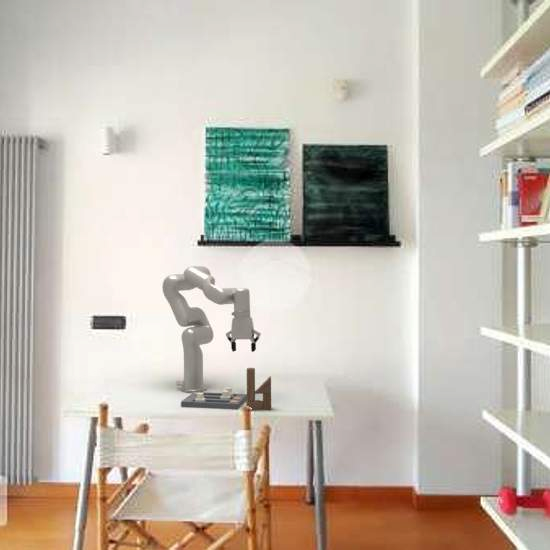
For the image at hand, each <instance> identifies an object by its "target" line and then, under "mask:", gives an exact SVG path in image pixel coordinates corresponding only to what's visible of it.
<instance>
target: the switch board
mask: <svg viewBox="0 0 550 550" xmlns="http://www.w3.org/2000/svg"><path fill="white" fill-rule="evenodd" d="M198 393H204V398H206V402H196V401H195V399H196V398H197V394H198ZM221 396H222V392H207V391H206V392H204V391H201V392H191V394H189V395H188V396H186V397H185V398H184V399H182V400H181V401H180V407H181V406H182V407H181V408H195V409H196V408H201V409H219V410H220V409H221V410H223V409H224V410H239V408H241V407H242V406H243V405H244V404H245V402H246V401H247V393H234V396H231V399H220V397H221Z"/></svg>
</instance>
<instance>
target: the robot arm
mask: <svg viewBox="0 0 550 550" xmlns="http://www.w3.org/2000/svg"><path fill="white" fill-rule="evenodd" d="M196 288H197V289H199V290H201V291H202V292H203V295H204V296H205V298H206V299H208V301H211V302H212V303H214V304H217V305H220V306H221V305H222V306H223V305H224V306H225V305H233V312H231V316H233V318H232V320H231V329H230V330H229V331H228V332H226V333H225V336H226V338H227V340H228V341H229V342H230V346H231V352H235V351H237V344H236V341H237V340H250V342H251V343H250V346H251V347H250V350H251V352H252V353H253V352H255V351H256V349H257V345H256V344H257V342H258V341H259V340H260V337H261V334H262V333H261V332H259V331H258V330H256V329H254V321H253V318H252V317H251V301H250V299H251V297H250V296H251V295H250V289H249V288H247V287H246V288H245V287H244V288H242V287H239V288H237V287H229V288H227V287H225V288H220V287H218V286H216V280H215V277H214V276H212V275H211V271H210V269H209V268H208V267H206V266H199V265H198V266H197V265H195V266H193V265H192V266H188V267H187V268H186V269H185V270H184V271H183V274H182V273H180V274H177V273H176V274H171V275H170V274H169V275H167V276H166V277H165V278H164V280H163V282H162V293H163V296H164V298H165V300H166V301H167V303H168V304H169V306H170V309H171V311H172V313H173V315H174V318H175V320H176V322H177V325H179V326H180V327H183V328H186V329H184V330H183V331H182V333H181V342H182V344H181V345H182V349H183V380H182V381H181V380H176V382H175V383H176V386H181V387H180V391H181V392H184V393H193V392H204V391H206V390H207V386H206V385H204V359H203V358H204V356H203V355H204V354H203V351H202V348H201V346H202V345H206V344H210V343H211V342H212V341H213V340H214V330H213V328H212V326H211V324H210V322H209V320H208V317H207V315H206V312H205V311H204V310H203V309H202V308H200V307H198V306H197V307H195V306H194V307H191V306H190V305H189V303H188V301H187V299H186V297H185V296H184V295H183V294H181V293H180V291H182V292H183V291H192V290H194V289H196ZM255 335H256V337H255Z"/></svg>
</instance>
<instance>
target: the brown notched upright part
mask: <svg viewBox="0 0 550 550" xmlns="http://www.w3.org/2000/svg"><path fill="white" fill-rule="evenodd" d="M246 394H247V400H246V401H245V402H246V406H249V407H251V408H252V410H251V411H271V410H272V376H271V375H270V376H269V377H268V378H267V379H266V380H265V381H263V382H262V384H261V385H260V386H259V387H258V388H257V389H256V369H255V367H248V368H246ZM256 395H262V400H259V399H256Z"/></svg>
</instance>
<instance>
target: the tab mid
mask: <svg viewBox="0 0 550 550" xmlns="http://www.w3.org/2000/svg"><path fill="white" fill-rule="evenodd" d="M221 393H222V396H221V397H220V399H231V396H229V391H226V389H224V390H223V391H221Z"/></svg>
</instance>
